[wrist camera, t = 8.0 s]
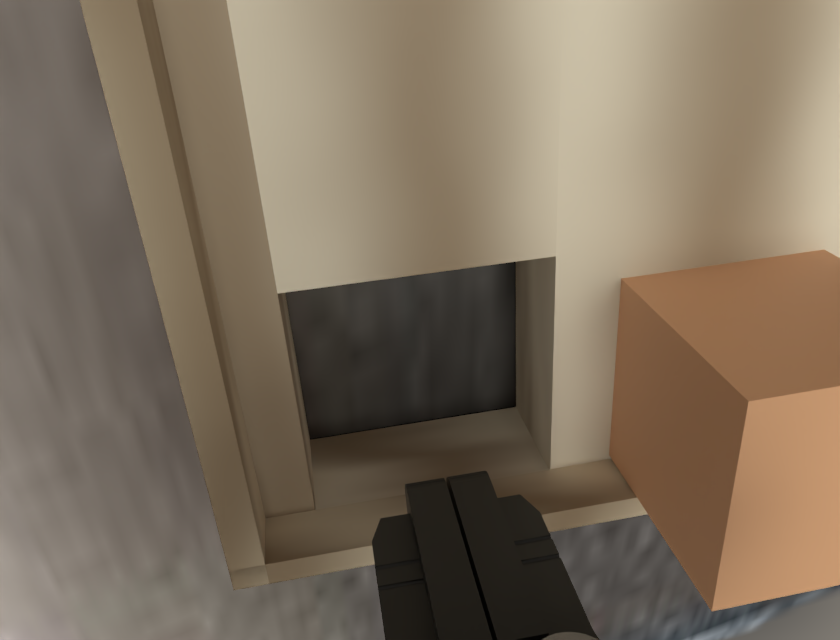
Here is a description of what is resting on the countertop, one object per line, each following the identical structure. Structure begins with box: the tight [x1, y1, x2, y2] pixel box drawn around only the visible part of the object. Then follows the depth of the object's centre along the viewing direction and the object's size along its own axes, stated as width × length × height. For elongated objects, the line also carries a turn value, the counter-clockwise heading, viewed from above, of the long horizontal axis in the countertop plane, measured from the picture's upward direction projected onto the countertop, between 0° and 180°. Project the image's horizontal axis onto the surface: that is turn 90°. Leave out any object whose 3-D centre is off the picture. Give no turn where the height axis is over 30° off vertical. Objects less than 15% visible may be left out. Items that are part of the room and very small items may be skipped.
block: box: [609, 250, 840, 611], centre depth 16 cm, size 5×5×5 cm
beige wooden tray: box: [80, 0, 840, 590], centre depth 17 cm, size 27×13×4 cm, turn 94°
